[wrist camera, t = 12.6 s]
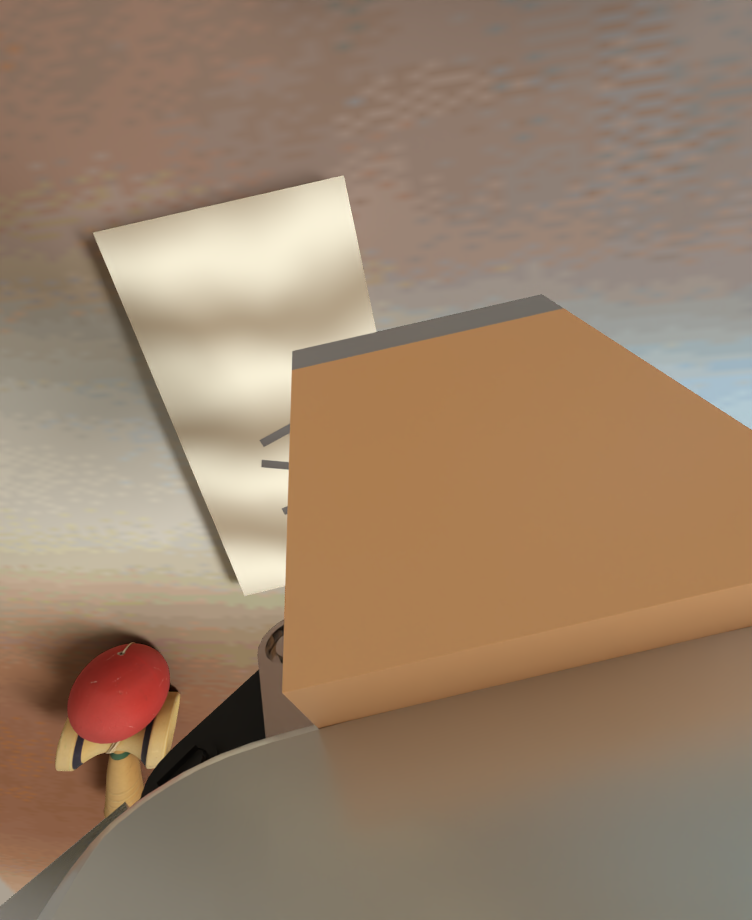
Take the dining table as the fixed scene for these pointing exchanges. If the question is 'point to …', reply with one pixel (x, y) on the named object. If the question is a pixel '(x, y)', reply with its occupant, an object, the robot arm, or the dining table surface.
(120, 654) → the kendama
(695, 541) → the block
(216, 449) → the ash board
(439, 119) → the dining table surface
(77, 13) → the dining table surface
